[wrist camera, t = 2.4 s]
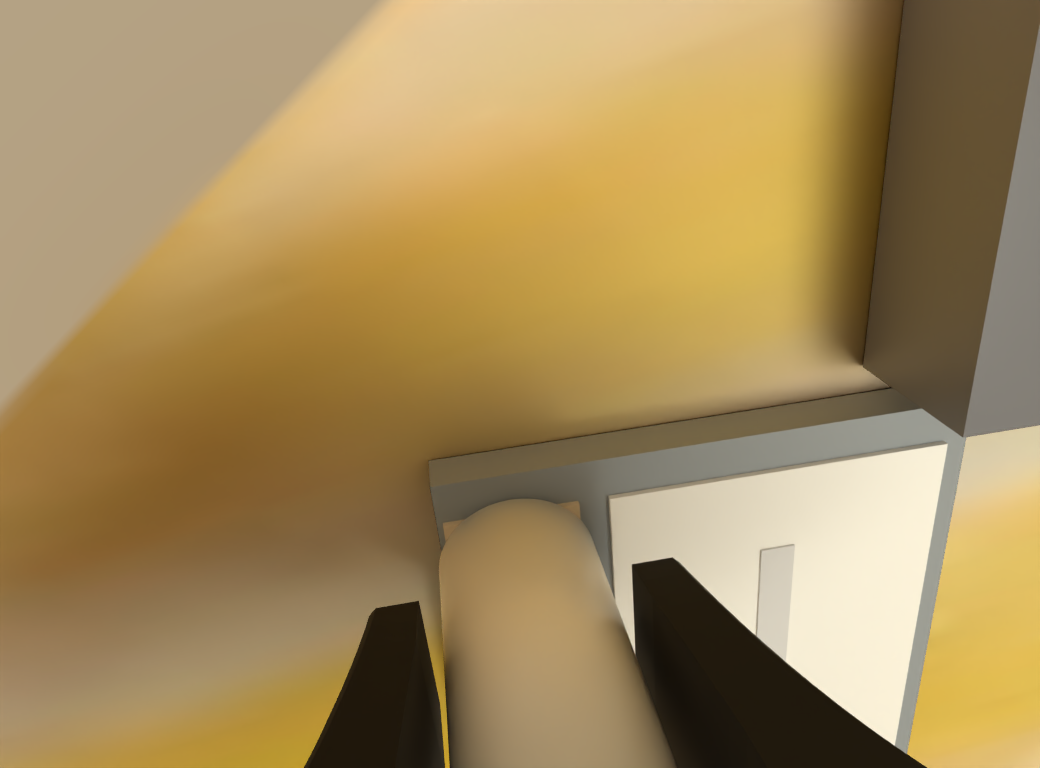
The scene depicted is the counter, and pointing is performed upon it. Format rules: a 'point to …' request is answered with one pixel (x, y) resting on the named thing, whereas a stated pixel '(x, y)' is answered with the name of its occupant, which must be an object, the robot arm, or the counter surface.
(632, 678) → the marker teal
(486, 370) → the counter surface
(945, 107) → the button housing
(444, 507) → the board
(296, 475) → the counter surface
